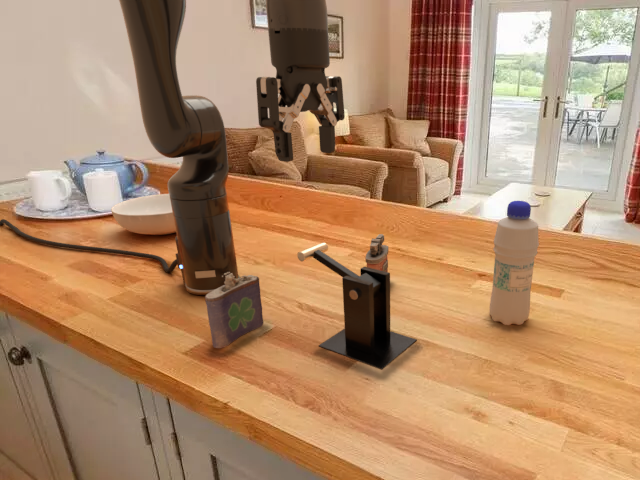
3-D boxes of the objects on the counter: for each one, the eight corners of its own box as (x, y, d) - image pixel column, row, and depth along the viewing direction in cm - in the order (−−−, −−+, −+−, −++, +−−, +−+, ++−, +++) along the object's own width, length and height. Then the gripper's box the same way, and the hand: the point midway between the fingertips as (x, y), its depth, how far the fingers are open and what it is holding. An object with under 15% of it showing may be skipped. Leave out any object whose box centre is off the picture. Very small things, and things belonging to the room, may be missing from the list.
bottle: (504, 336, 75) (516, 209, 67) (478, 318, 81) (487, 198, 73) (538, 326, 78) (553, 203, 70) (511, 309, 83) (523, 193, 76)
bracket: (318, 353, 70) (313, 277, 66) (357, 327, 77) (354, 257, 73) (382, 376, 65) (380, 296, 60) (417, 347, 72) (418, 272, 67)
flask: (222, 356, 69) (210, 287, 65) (207, 351, 70) (195, 282, 66) (268, 329, 77) (261, 265, 72) (255, 324, 78) (246, 261, 74)
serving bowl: (151, 216, 134) (146, 191, 131) (224, 220, 131) (220, 194, 128) (96, 240, 115) (89, 212, 112) (180, 245, 112) (174, 216, 109)
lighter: (381, 300, 87) (380, 246, 83) (362, 298, 87) (361, 245, 83) (391, 282, 94) (391, 232, 90) (374, 280, 94) (373, 231, 91)
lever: (295, 261, 69) (298, 247, 68) (319, 251, 73) (322, 237, 72) (361, 306, 65) (365, 292, 64) (382, 292, 69) (387, 279, 68)
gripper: (313, 31, 70) (321, 148, 76) (233, 24, 59) (249, 161, 65) (355, 30, 66) (359, 152, 73) (278, 21, 55) (291, 167, 62)
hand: (307, 156), depth 69 cm, fingers open, 8 cm apart
